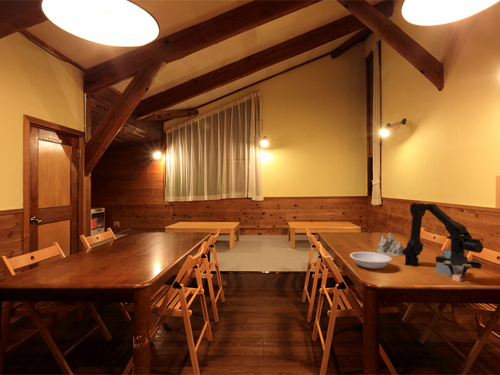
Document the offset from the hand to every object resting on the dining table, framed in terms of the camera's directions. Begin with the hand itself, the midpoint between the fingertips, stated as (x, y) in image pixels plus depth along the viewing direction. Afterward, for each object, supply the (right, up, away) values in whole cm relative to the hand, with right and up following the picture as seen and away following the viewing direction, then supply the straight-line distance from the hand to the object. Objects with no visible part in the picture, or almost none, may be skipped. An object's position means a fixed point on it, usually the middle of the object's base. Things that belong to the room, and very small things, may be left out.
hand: (457, 277), depth 136 cm
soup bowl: (-36, -2, +23) cm, 43 cm away
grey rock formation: (-6, -1, +55) cm, 55 cm away
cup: (+14, -1, +22) cm, 26 cm away
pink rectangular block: (0, -1, 0) cm, 1 cm away
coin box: (+4, -1, +10) cm, 11 cm away
